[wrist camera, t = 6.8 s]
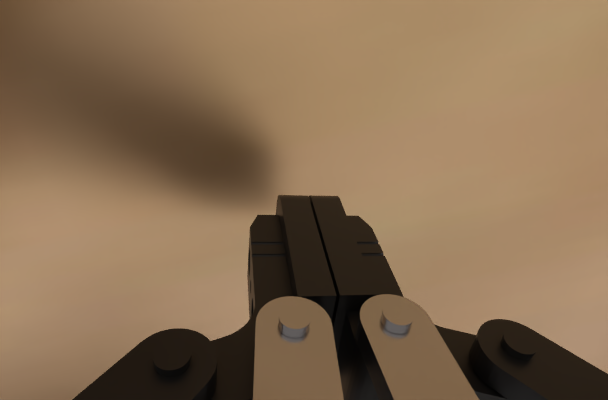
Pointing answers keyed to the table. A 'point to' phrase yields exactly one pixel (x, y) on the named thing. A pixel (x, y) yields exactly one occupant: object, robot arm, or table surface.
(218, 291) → the table surface
